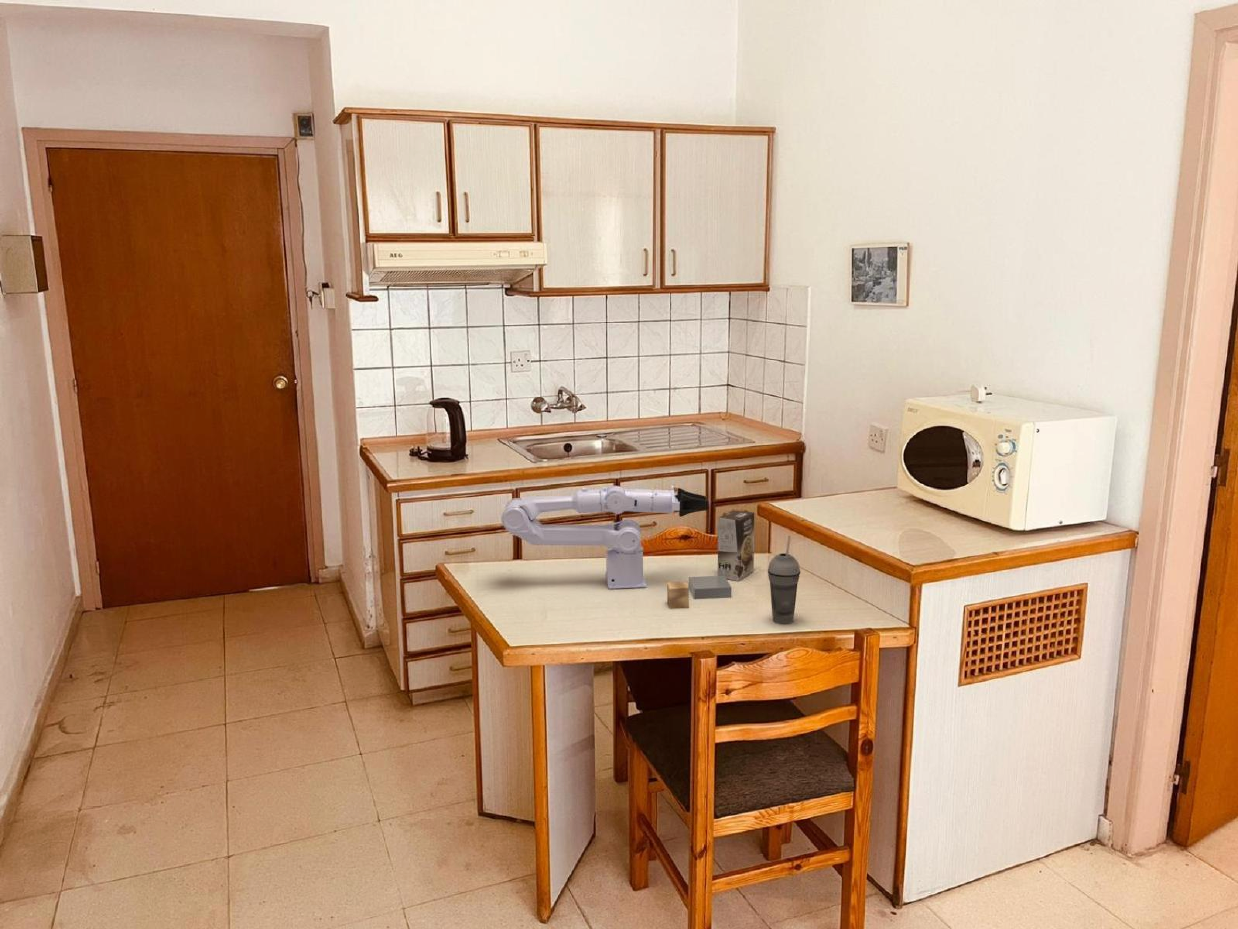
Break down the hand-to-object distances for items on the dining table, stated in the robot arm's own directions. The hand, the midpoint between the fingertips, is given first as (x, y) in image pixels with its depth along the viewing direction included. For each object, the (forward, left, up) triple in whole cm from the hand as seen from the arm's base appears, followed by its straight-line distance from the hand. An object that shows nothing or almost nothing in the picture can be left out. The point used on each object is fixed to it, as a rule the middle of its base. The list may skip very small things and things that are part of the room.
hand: (707, 502), depth 241 cm
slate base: (-1, -7, -21) cm, 22 cm away
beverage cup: (+12, -28, -21) cm, 37 cm away
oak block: (-10, -15, -21) cm, 28 cm away
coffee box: (+8, +5, -21) cm, 23 cm away
